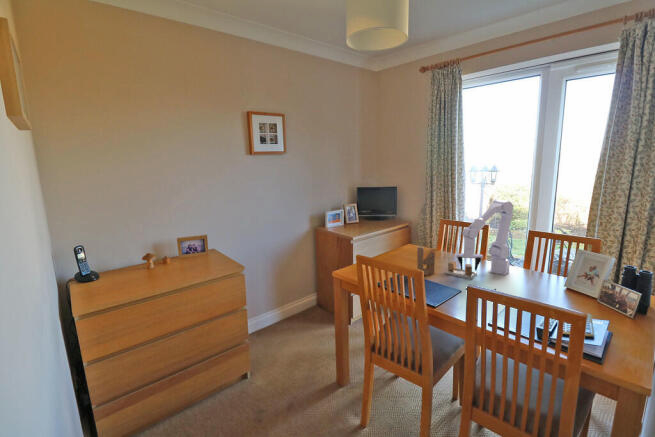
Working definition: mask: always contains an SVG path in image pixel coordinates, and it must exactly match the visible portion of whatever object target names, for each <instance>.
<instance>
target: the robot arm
mask: <svg viewBox="0 0 655 437" xmlns="http://www.w3.org/2000/svg"><path fill="white" fill-rule="evenodd" d="M513 210H514V204H513V202H511V201H509V200H502V199H495V200H493V201H492V202H491V203H490V206H489V208H487V210H486V211H485V212H484V213H483V215H482V216H481V217H476V218H475V219H474V221H473V222H472V223H470V225H469V226H468V227H464V228H463V230H462V232H461V233H462V236H463V239H464V240H463V253H455V258H457V261H458V262H459V264H460V265H459V266H460V269H461V270H462V269H463V261H464V259H474V260H475V262H474V270H475V271H477V269H478V266H479V264H480V263H481V261H482V260H483V259H484V256H483V254H478V253H475V251H476V250H475V248H476V238H477V237H478V235H479V232H480V231H481V230H482V228H484V227H485V226H486V222H487V221H488V220H490V219H491V218H492V217H493V216H494V215H495V214H500V216H501V217H500V220H499V224H498V230H497V233H496V238H495V241H493V242H492V243H491V246H490V247H489V249H488V253H489V255H490V257H491V262H490V264H491V265H490V269H489V270H488V272H489V273H492V274H497V275H502V276H507V274H509V272H510V263H511V262H510V259H508V256H509V254H510V253H509V246H508V244H507V239H508V235H509V231H510V228H511V223H512V219H513V214H514V213H513Z"/></svg>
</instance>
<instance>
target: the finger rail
mask: <svg viewBox="0 0 655 437" xmlns="http://www.w3.org/2000/svg"><path fill="white" fill-rule="evenodd" d="M446 275H451V276H455V277H458V278H464V279H468V280H473V279H474V278H475V277H477V276H478V272H476V271H473V270H472V275H471V276H470V275H466V273H465V268H462V270H461V268H459V267H457V261H454V260H450V261H448V263H447V270H446Z"/></svg>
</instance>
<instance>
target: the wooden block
mask: <svg viewBox="0 0 655 437" xmlns="http://www.w3.org/2000/svg"><path fill="white" fill-rule="evenodd" d="M424 248H425V247H424V246H417V249H416V250H417V258H416V259H417V260H416V261H417V262H416V264H417V265H416V266H417V267H416V269H420V270H423V271H424V275H425V276H431V275H434V274H435V261H436V259H435V256H436V255H435V254H436V253H435V251H433V250H430V252H429V253H428V254H427V255H426V256H424V255H425V254H424V251H425V250H424ZM424 257H425V258H424ZM424 266H426V268H425V267H424ZM425 276H424V277H425Z"/></svg>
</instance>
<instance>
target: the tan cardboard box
mask: <svg viewBox="0 0 655 437" xmlns="http://www.w3.org/2000/svg"><path fill="white" fill-rule="evenodd" d="M464 270H465V273H466V275H470V276H471V275H472V271H473V266H472V264H471V263H465V264H464Z"/></svg>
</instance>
